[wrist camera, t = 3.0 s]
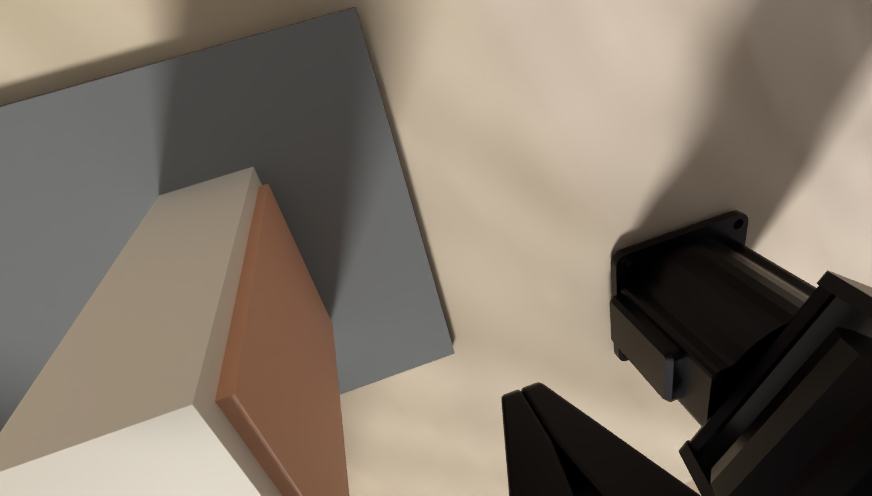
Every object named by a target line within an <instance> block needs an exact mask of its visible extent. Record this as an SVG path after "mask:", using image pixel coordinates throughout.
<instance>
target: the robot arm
mask: <svg viewBox="0 0 872 496" xmlns="http://www.w3.org/2000/svg"><path fill="white" fill-rule="evenodd" d="M747 226H748V217H747V215H745V214H743V213H741V212H740V211H737V210H735V211H731V212H728V213H725V214H722V215H720V216H717V217H714V218H711V219H708V220H705V221H702V222H699V223H697V224H694V225H691V226H688V227H685V228H682V229H679V230H677V231H674V232H671V233H668V234H665V235H662V236H659V237H657V238H654V239H651V240H648V241H645V242H642V243H639V244H636V245H634V246H631V247H628V248H625V249H622V250H620V251H618V252H616V253H615V254H614V255H613V257H612V259H611V280H612V298H611V300H610V319H611V339H612V341H613V342H614V352H615V354H616V356H617V357H618V358H619V359H620V360H621V361H627V360H629V361H630V362H631V363H632V364H633V365H634V366H635V367H636V369H637V370H638V371H639V372H640V373H641V374H642V375H643V377H644V378H645V379H646V380H647V381H648V382H649V383H650V385H651V386H652V387H653V388H654V389H655V390H656V391H657V393H658V394H659V395H660V396H661V397H662V398H663V399H665V400H667V401H669V402H672V401H674V400H678V401H679V402H680V403H681V404H682V405H683V406H684V408H685V409H686V410H687V411H688V412H689V413H690V414H691V415H692V416H693V417H694V419H695V420H696V421H697V422H698V423H699V424H700V425H701V426H702V427H701V428H700V430H699V431H698V432H697V433H696V434H695V436H694V437H693V438H692V439H691V440H690V441H689V440H688V441H686V442H685V443H684V445H683V446H682V447H681V448H680V450H679V453H680V455H681V457H682V459H683V461H684V463H685V465H686V467H687V469H688V471H689V473H690V474H691V476H692V478H693V480H694V482H695V484H696V486H697V488H698V490H699V492H700V494H701V496H872V287H869V286H866V285H864V284H861V283H859V282H856V281H854V280H851V279H848V278H846V277H843V276H841V275H838V274H836V273H833V272H830V271H828V270H827V271H826V273H825V274H824V275H823V276H822V277H821V279H820V280H819V281H818V282H817V284H818V285H819V286H818V287H817V288H816V287H814V286H812V285H810V284H809V283H807V282H805V281H804V280H802V279H800V278H799V277H797V276H795V275H793V274H792V273H790V272H788V271H787V270H785V269H783V268H782V267H780V266H778V265H777V264H775V263H773V262H771V261H770V260H768V259H766V258H765V257H763V256H761V255H760V254H758V253H756V252H754V251H753V250H751V249H749V248H748V247H746V246H745V240H746V233H747ZM625 259H626V260H625ZM624 260H625V262H624V263H622V262H623V261H624ZM502 413H503V425H504V438H505V450H506V462H507V474H508V487H509V496H700V495H699V494H698V493H696V492H695V491H694V490H692V489H691V488H689V487H688V486H687V485H685V484H684V483H682V482H681V481H679V480H678V479H677V478H675V477H674V476H672V475H671V474H670V473H668V472H667V471H665V470H664V469H663V468H661V467H660V466H658V465H657V464H655V463H654V462H653V461H651V460H650V459H648V458H647V457H646V456H644V455H643V454H641V453H640V452H638V451H637V450H636V449H634V448H633V447H631V446H630V445H629V444H627V443H626V442H624V441H623V440H622V439H620V438H619V437H617V436H616V435H614V434H613V433H612V432H610V431H609V430H607V429H606V428H605V427H603V426H602V425H600V424H599V423H598V422H596V421H595V420H593V419H592V418H590V417H589V416H588V415H586V414H585V413H583V412H582V411H581V410H579V409H578V408H576V407H575V406H574V405H572V404H571V403H569V402H568V401H566V400H565V399H564V398H562V397H561V396H559V395H558V394H557V393H555V392H554V391H552V390H551V389H550V388H548V387H547V386H545V385H544V384H542V383H539V382H538V383H534V384H532V385H529V386H526V387H524V388H522V390H521V391H520V390H515V391H513V392H510V393H507V394H504V395H503V396H502Z"/></svg>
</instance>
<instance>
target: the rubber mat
mask: <svg viewBox="0 0 872 496" xmlns="http://www.w3.org/2000/svg"><path fill="white" fill-rule="evenodd" d="M250 167H254V169H255V171H256V173H257V175H258V178H259V180H260V182H261V184H262V185H265V184H269V186H270V188H271V191H272V193H273V195H274V197H275V199H276V202H277V204H278V206H279V208H280V210H281V212H282V215H283V217H284V219H285V221H286V223H287V226H288V228H289V230H290V232H291V234H292V237H293V239H294V241H295V243H296V245H297V247H298V250H299V252H300V254H301V256H302V258H303V261H304V263H305V265H306V267H307V269H308V272H309V274H310V276H311V278H312V280H313V282H314V285H315V287H316V289H317V291H318V293H319V296H320V298H321V300H322V302H323V304H324V307H325V309H326V311H327V313H328V315H329V317H330V320H331V322H332V324H333V332H334V342H335V352H336V363H337V373H338V384H339V394H343V393H345V392H348V391H351V390H354V389H357V388H359V387H362V386H365V385H368V384H370V383H373V382H376V381H379V380H382V379H384V378H387V377H390V376H393V375H396V374H398V373H401V372H404V371H407V370H409V369H412V368H415V367H418V366H421V365H423V364H426V363H429V362H432V361H435V360H437V359H440V358H443V357H446V356H448V355H451V354H454V349H453V346H452V342H451V339H450V335H449V332H448V328H447V325H446V321H445V318H444V314H443V311H442V307H441V304H440V300H439V297H438V293H437V290H436V286H435V283H434V279H433V276H432V272H431V269H430V266H429V262H428V259H427V255H426V252H425V248H424V245H423V241H422V238H421V234H420V231H419V227H418V224H417V220H416V217H415V213H414V210H413V206H412V203H411V199H410V196H409V192H408V189H407V185H406V182H405V179H404V175H403V172H402V168H401V165H400V161H399V158H398V154H397V151H396V147H395V144H394V140H393V137H392V133H391V130H390V126H389V123H388V119H387V116H386V112H385V109H384V105H383V102H382V98H381V95H380V92H379V88H378V85H377V81H376V78H375V74H374V71H373V67H372V64H371V60H370V57H369V53H368V50H367V46H366V43H365V39H364V36H363V32H362V29H361V25H360V22H359V18H358V15H357V12H356V8H355V7H353V8H350V9H346V10H343V11H339V12H335V13H332V14H328V15H325V16H321V17H318V18H314V19H310V20H307V21H303V22H300V23H296V24H293V25H289V26H285V27H282V28H278V29H275V30H271V31H267V32H264V33H260V34H257V35H253V36H250V37H246V38H242V39H239V40H235V41H232V42H228V43H225V44H221V45H217V46H214V47H210V48H207V49H203V50H200V51H196V52H192V53H189V54H185V55H182V56H178V57H175V58H171V59H167V60H164V61H160V62H157V63H153V64H150V65H146V66H142V67H139V68H135V69H132V70H128V71H124V72H121V73H117V74H114V75H110V76H107V77H103V78H99V79H96V80H92V81H89V82H85V83H82V84H78V85H74V86H71V87H67V88H64V89H60V90H57V91H53V92H49V93H46V94H42V95H39V96H35V97H32V98H28V99H24V100H21V101H17V102H14V103H10V104H7V105H3V106H0V432H1V430H2V429H3V427H4V426H5V424H6V423H7V421H8V420H9V418H10V417H11V415H12V414H13V412H14V411H15V409H16V408H17V406H18V405H19V403H20V402H21V400H22V399H23V397H24V396H25V394H26V393H27V391H28V390H29V388H30V387H31V385H32V384H33V382H34V381H35V379H36V378H37V376H38V375H39V373H40V372H41V370H42V369H43V367H44V366H45V364H46V363H47V361H48V360H49V358H50V357H51V355H52V354H53V352H54V351H55V349H56V348H57V347H58V345H59V344H60V342H61V341H62V339H63V338H64V336H65V335H66V333H67V332H68V330H69V329H70V327H71V326H72V324H73V323H74V321H75V320H76V318H77V317H78V315H79V314H80V312H81V311H82V309H83V308H84V306H85V305H86V303H87V302H88V300H89V299H90V297H91V296H92V294H93V293H94V291H95V290H96V288H97V287H98V285H99V284H100V282H101V281H102V279H103V278H104V276H105V275H106V273H107V272H108V270H109V269H110V267H111V266H112V264H113V263H114V261H115V260H116V258H117V257H118V255H119V254H120V252H121V251H122V249H123V248H124V246H125V245H126V243H127V242H128V240H129V239H130V237H131V236H132V235H133V233H134V232H135V230H136V229H137V227H138V226H139V224H140V223H141V221H142V220H143V218H144V217H145V215H146V214H147V212H148V211H149V209H150V208H151V206H152V205H153V203H154V202H155V200H156V199H157V197H158V196H159V195H162V194H165V193H169V192H172V191H175V190H178V189H182V188H185V187H188V186H191V185H195V184H198V183H201V182H205V181H208V180H211V179H214V178H218V177H221V176H224V175H227V174H231V173H234V172H237V171H240V170H244V169H247V168H250Z"/></svg>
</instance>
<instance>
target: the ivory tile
mask: <svg viewBox="0 0 872 496" xmlns="http://www.w3.org/2000/svg"><path fill="white" fill-rule="evenodd" d="M0 496H349V488H348V478H347V468H346V457H345V447H344V436H343V426H342V415H341V405H340V394H339V384H338V373H337V363H336V352H335V342H334V332H333V324H332V322H331V320H330V317H329V315H328V313H327V311H326V309H325V307H324V304H323V302H322V300H321V298H320V296H319V293H318V291H317V289H316V287H315V285H314V282H313V280H312V278H311V276H310V274H309V272H308V269H307V267H306V265H305V263H304V261H303V258H302V256H301V254H300V252H299V250H298V247H297V245H296V243H295V241H294V239H293V237H292V234H291V232H290V230H289V228H288V226H287V223H286V221H285V219H284V217H283V215H282V212H281V210H280V208H279V206H278V204H277V202H276V199H275V197H274V195H273V193H272V191H271V188H270V186H269V184H265V185H262V184H261V182H260V180H259V178H258V175H257V173H256V171H255V169H254V167H250V168H247V169H244V170H240V171H237V172H234V173H231V174H227V175H224V176H221V177H218V178H214V179H211V180H208V181H205V182H201V183H198V184H195V185H191V186H188V187H185V188H182V189H178V190H175V191H172V192H169V193H165V194H162V195H159V196H158V197H157V199H156V200H155V202H154V203H153V205H152V206H151V208H150V209H149V211H148V212H147V214H146V215H145V217H144V218H143V220H142V221H141V223H140V224H139V226H138V227H137V229H136V230H135V232H134V233H133V235H132V236H131V237H130V239H129V240H128V242H127V243H126V245H125V246H124V248H123V249H122V251H121V252H120V254H119V255H118V257H117V258H116V260H115V261H114V263H113V264H112V266H111V267H110V269H109V270H108V272H107V273H106V275H105V276H104V278H103V279H102V281H101V282H100V284H99V285H98V287H97V288H96V290H95V291H94V293H93V294H92V296H91V297H90V299H89V300H88V302H87V303H86V305H85V306H84V308H83V309H82V311H81V312H80V314H79V315H78V317H77V318H76V320H75V321H74V323H73V324H72V326H71V327H70V329H69V330H68V332H67V333H66V335H65V336H64V338H63V339H62V341H61V342H60V344H59V345H58V347H57V348H56V349H55V351H54V352H53V354H52V355H51V357H50V358H49V360H48V361H47V363H46V364H45V366H44V367H43V369H42V370H41V372H40V373H39V375H38V376H37V378H36V379H35V381H34V382H33V384H32V385H31V387H30V388H29V390H28V391H27V393H26V394H25V396H24V397H23V399H22V400H21V402H20V403H19V405H18V406H17V408H16V409H15V411H14V412H13V414H12V415H11V417H10V418H9V420H8V421H7V423H6V424H5V426H4V427H3V429H2V430H1V432H0Z"/></svg>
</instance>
